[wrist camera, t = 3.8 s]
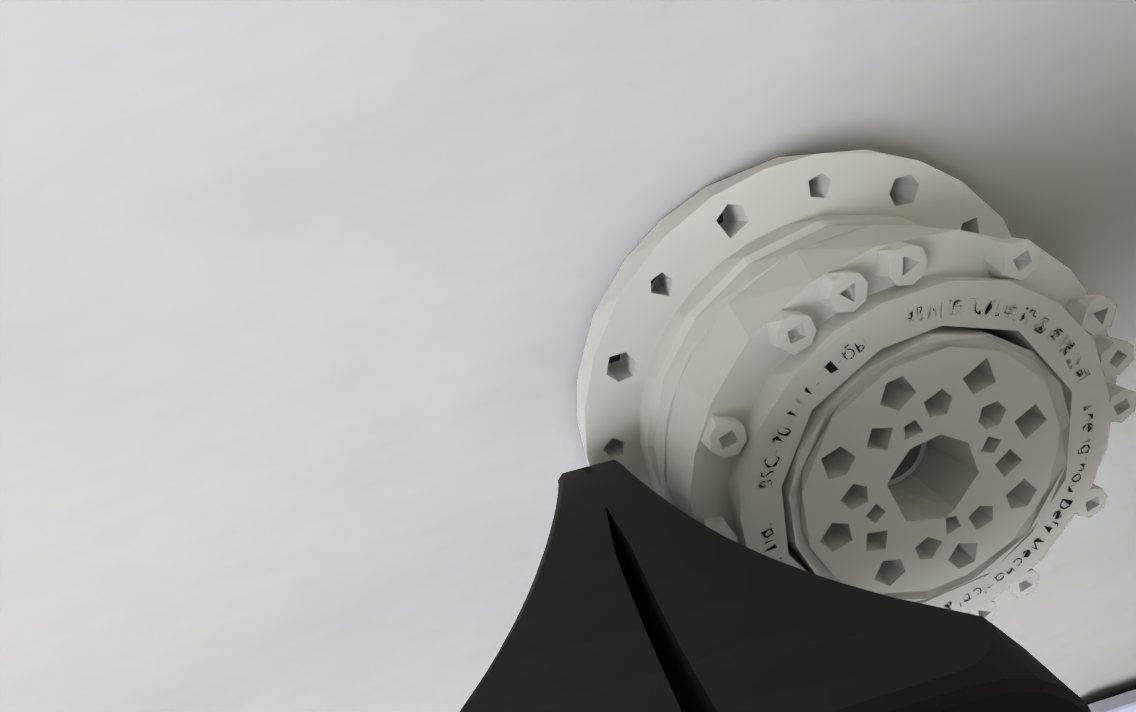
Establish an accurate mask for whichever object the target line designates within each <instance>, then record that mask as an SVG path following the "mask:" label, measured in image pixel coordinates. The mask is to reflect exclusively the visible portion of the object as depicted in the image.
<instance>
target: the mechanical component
mask: <svg viewBox="0 0 1136 712" xmlns="http://www.w3.org/2000/svg"><path fill="white" fill-rule="evenodd" d="M721 213H723V218H724V221H723V222H722V223H721V224H720V225H719V224H718V223H717V221H716V220H717V219H718V217H719V216H720V214H721ZM655 277H657V278H656V279H655V280H654V282H653V283H652V284H651V280H652V279H654V278H655ZM1116 307H1117V305H1116V304H1115V303H1114V302H1113V301H1112V300H1111V299H1109V298H1108V297H1105V296H1099V295H1094V294H1088V292H1087V291H1086V290H1085V288H1084V287H1083V285H1082V284H1081V283H1080V281H1079V280H1078V278H1077V277H1076V276H1075V274H1074V273H1073V271H1072V270H1071V269H1069V268H1068V267H1067V266H1065V265H1064V264H1062V263H1061V262H1059V261H1058V260H1057V259H1055V258H1054V257H1052V256H1051V255H1049V254H1048V253H1047V252H1045V251H1044V250H1042V249H1041V248H1040V247H1038V246H1037V245H1035V244H1034V243H1033V242H1031V241H1030V240H1029V239H1023V238H1015V237H1012V236H1011V234H1010V232H1009V230H1008V228H1007V226H1006V224H1005V221H1004V219H1003V218H1002V217H1001V216H1000V215H999V214H998V213H997V212H996V211H994V210H993V209H992V208H991V207H990V206H989V205H988V204H987V203H986V202H984V201H983V200H982V199H981V198H980V197H979V196H978V195H977V194H975V193H974V192H973V191H972V190H971V189H970V188H969V187H968V186H967V185H965V184H964V183H963V182H962V181H961V180H959V179H957V178H955V177H952V176H950V175H948V174H946V173H944V172H942V171H940V170H938V169H936V168H934V167H932V166H930V165H928V164H926V163H923V162H921V161H919V160H914V159H909V158H905V157H900V156H895V155H891V154H886V153H881V152H876V151H872V150H867V149H865V150H854V151H842V152H831V153H819V154H807V155H796V156H784V157H777V158H774V159H772V160H769V161H767V162H764V163H762V164H760V165H757V166H755V167H752V168H750V169H747V170H745V171H743V172H740V173H738V174H735V175H733V176H731V177H728V178H726V179H723V180H721V181H718V182H716V183H714V184H711V185H709V186H706V187H705V188H703V189H702V190H701V191H699V192H698V193H697V194H695V195H694V196H693V197H691V198H690V199H688V200H687V201H686V202H684V203H683V204H682V205H680V206H679V207H678V208H676V209H675V210H674V211H672V212H671V213H669V214H668V215H667V216H665V217H664V218H663V219H661V220H660V221H659V222H658V223H657V224H656V226H655V227H654V228H653V229H652V230H651V231H650V232H649V233H648V234H647V235H646V237H645V238H644V239H643V240H642V241H641V242H640V243H639V244H638V245H637V246H636V247H635V249H634V250H633V251H632V252H631V253H630V254H629V255H628V256H627V257H626V258H625V260H624V262H623V264H622V265H621V267H620V269H619V270H618V272H617V274H616V276H615V277H614V279H613V281H612V283H611V284H610V286H609V288H608V289H607V291H606V293H605V295H604V296H603V298H602V300H601V302H600V303H599V305H598V307H597V309H596V310H595V312H594V315H593V319H592V323H591V326H590V330H589V334H588V338H587V341H586V345H585V349H584V353H583V357H582V361H581V365H580V369H579V373H578V377H577V422H578V426H579V430H580V435H581V439H582V443H583V447H584V451H585V455H586V459H587V464H588V466H592V465H595V464H599V463H603V462H606V461H610V460H616V461H618V462H619V463H621V464H622V465H623V466H624V467H625V468H626V469H627V470H628V471H630V472H631V473H632V474H633V475H634V476H635V477H637V478H638V479H639V480H640V481H642V482H643V483H644V484H645V485H647V486H648V487H649V488H650V489H652V490H653V491H654V492H656V493H657V494H658V495H660V496H661V497H663V498H664V499H666V500H667V501H668V502H670V503H671V504H673V505H674V506H675V507H677V508H678V509H680V510H681V511H683V512H684V513H686V514H688V515H689V516H691V517H692V518H694V519H695V520H697V521H699V522H700V523H702V524H704V525H705V526H707V527H709V528H710V529H712V530H714V531H716V532H718V533H719V534H721V535H723V536H725V537H727V538H729V539H731V540H733V541H735V542H737V543H739V544H741V545H744V546H746V547H748V548H750V549H752V550H754V551H756V552H759V553H761V554H763V555H766V556H768V557H770V558H773V559H775V560H778V561H781V562H783V563H786V564H789V565H791V566H794V567H796V568H799V569H802V570H804V571H807V572H810V573H813V574H816V575H819V576H822V577H825V578H828V579H831V580H834V581H837V582H840V583H844V584H847V585H851V586H854V587H858V588H861V589H865V590H868V591H872V592H875V593H879V594H882V595H886V596H890V597H894V598H898V599H903V600H908V601H912V602H917V603H922V604H926V605H931V606H936V607H941V608H945V609H950V610H955V611H959V612H964V613H969V614H973V615H978V616H983V617H984V618H985V619H986V620H988V621H989V622H990V621H992V620H993V618H994V616H995V614H996V613H997V607H996V604H995V602H994V601H993V599H994V598H996V597H997V596H998V595H999V594H1000V593H1002V592H1003V591H1004V590H1007V591H1008V592H1010V593H1011V594H1013V595H1014V596H1016V597H1022V596H1025V595H1028V594H1029V593H1031V592H1032V591H1034V590H1035V589H1036V588H1037V584H1038V581H1039V577H1040V575H1039V574H1038V573H1037V572H1036V571H1034V570H1033V569H1032V567H1033V566H1034V565H1036V564H1037V563H1038V562H1039V561H1040V560H1042V559H1043V557H1044V556H1045V554H1046V553H1047V552H1048V550H1049V549H1050V548H1051V546H1052V545H1053V544H1054V542H1055V541H1056V540H1057V538H1058V537H1059V536H1060V534H1061V533H1062V531H1063V530H1064V529H1065V527H1066V526H1067V525H1068V523H1069V522H1070V521H1071V519H1072V518H1073V516H1074V515H1075V514H1077V515H1078V516H1083V517H1088V518H1090V517H1091V516H1093V515H1094V514H1096V513H1097V512H1098V511H1100V510H1101V509H1103V508H1104V506H1105V502H1106V499H1107V495H1106V493H1105V492H1104V490H1103V489H1102V488H1100V487H1098V486H1096V485H1094V484H1093V482H1094V478H1095V475H1096V472H1097V469H1098V467H1099V465H1100V463H1101V461H1102V458H1103V456H1104V454H1105V452H1106V450H1107V445H1108V437H1109V430H1110V423H1111V422H1120V423H1122V422H1123V421H1124V420H1125V419H1126V418H1127V417H1128V416H1129V415H1130V414H1131V413H1132V412H1134V411H1135V407H1136V393H1135V392H1133V391H1131V390H1128V389H1125V388H1122V387H1119V386H1117V385H1116V379H1117V375H1120V374H1121V373H1122V372H1123V371H1124V369H1125V368H1126V367H1127V366H1128V365H1129V364H1130V363H1131V362H1132V361H1133V345H1131V344H1130V343H1128V342H1127V341H1124V340H1120V339H1116V338H1111V337H1108V334H1107V330H1106V328H1108V327H1110V326H1111V325H1112V321H1113V318H1114V314H1115V311H1116ZM618 354H621V355H620V360H618V361H616V362H613V363H610V364H608V362H609V357H611V356H614V355H618Z"/></svg>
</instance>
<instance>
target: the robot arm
mask: <svg viewBox="0 0 1136 712" xmlns="http://www.w3.org/2000/svg"><path fill="white" fill-rule="evenodd" d="M558 483H559V488H558V498H557V504H556V510H555V515H554V519H553V523H552V527H551V530H550V534H549V538H548V542H547V545H546V548H545V551H544V554H543V557H542V559H541V562H540V565H539V568H538V571H537V574H536V576H535V579H534V581H533V584H532V586H531V589H530V591H529V593H528V596H527V598H526V600H525V602H524V604H523V607H522V609H521V611H520V613H519V615H518V617H517V619H516V621H515V623H514V625H513V627H512V629H511V630H510V632H509V634H508V636H507V638H506V640H505V641H504V643H503V645H502V647H501V649H500V651H499V652H498V654H497V656H496V657H495V659H494V661H493V663H492V664H491V666H490V667H489V669H488V671H487V672H486V674H485V675H484V677H483V678H482V680H481V681H480V683H479V684H478V686H477V687H476V689H475V690H474V692H473V693H472V695H471V696H470V697H469V699H468V700H467V702H466V703H465V705H464V706H463V708H462V709H461V711H460V712H1136V689H1134V690H1131V691H1128V692H1125V693H1122V694H1119V695H1116V696H1113V697H1110V698H1106V699H1103V700H1100V701H1097V702H1094V703H1091V704H1087V703H1086V702H1085V701H1083V700H1082V699H1081V698H1080V697H1079V696H1078V695H1076V694H1075V693H1074V692H1073V691H1072V690H1071V689H1070V688H1068V687H1067V686H1066V685H1065V684H1064V683H1063V682H1061V681H1060V680H1059V679H1058V678H1057V677H1056V676H1054V675H1053V674H1052V673H1051V672H1050V671H1049V670H1048V669H1047V668H1046V667H1045V666H1044V665H1042V664H1041V663H1040V662H1039V661H1038V660H1037V659H1036V658H1034V657H1033V656H1032V655H1031V654H1030V653H1029V652H1028V651H1026V650H1025V649H1024V648H1023V647H1022V646H1020V645H1019V644H1018V643H1016V642H1015V641H1014V640H1012V639H1011V638H1010V637H1009V636H1007V635H1006V634H1005V633H1003V632H1002V631H1001V630H999V629H998V628H997V627H996V626H994V625H993V624H992V623H990V622H989V621H988V620H986V619H985V618H984V617H983V616H978V615H973V614H969V613H964V612H959V611H955V610H950V609H945V608H941V607H936V606H931V605H926V604H922V603H917V602H912V601H908V600H903V599H898V598H894V597H890V596H886V595H882V594H879V593H875V592H872V591H868V590H865V589H861V588H858V587H854V586H851V585H847V584H844V583H840V582H837V581H834V580H831V579H828V578H825V577H822V576H819V575H816V574H813V573H810V572H807V571H804V570H802V569H799V568H796V567H794V566H791V565H789V564H786V563H783V562H781V561H778V560H775V559H773V558H770V557H768V556H766V555H763V554H761V553H759V552H756V551H754V550H752V549H750V548H748V547H746V546H744V545H741V544H739V543H737V542H735V541H733V540H731V539H729V538H727V537H725V536H723V535H721V534H719V533H718V532H716V531H714V530H712V529H710V528H709V527H707V526H705V525H704V524H702V523H700V522H699V521H697V520H695V519H694V518H692V517H691V516H689V515H688V514H686V513H684V512H683V511H681V510H680V509H678V508H677V507H675V506H674V505H673V504H671V503H670V502H668V501H667V500H666V499H664V498H663V497H661V496H660V495H658V494H657V493H656V492H654V491H653V490H652V489H650V488H649V487H648V486H647V485H645V484H644V483H643V482H642V481H640V480H639V479H638V478H637V477H635V476H634V475H633V474H632V473H631V472H630V471H628V470H627V469H626V468H625V467H624V466H623V465H622V464H621V463H619V462H618V461H616V460H610V461H606V462H603V463H599V464H595V465H592V466H588V467H585V468H581V469H577V470H574V471H570V472H566V473H563V474H562V475H561V477H560V478H559V480H558Z"/></svg>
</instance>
